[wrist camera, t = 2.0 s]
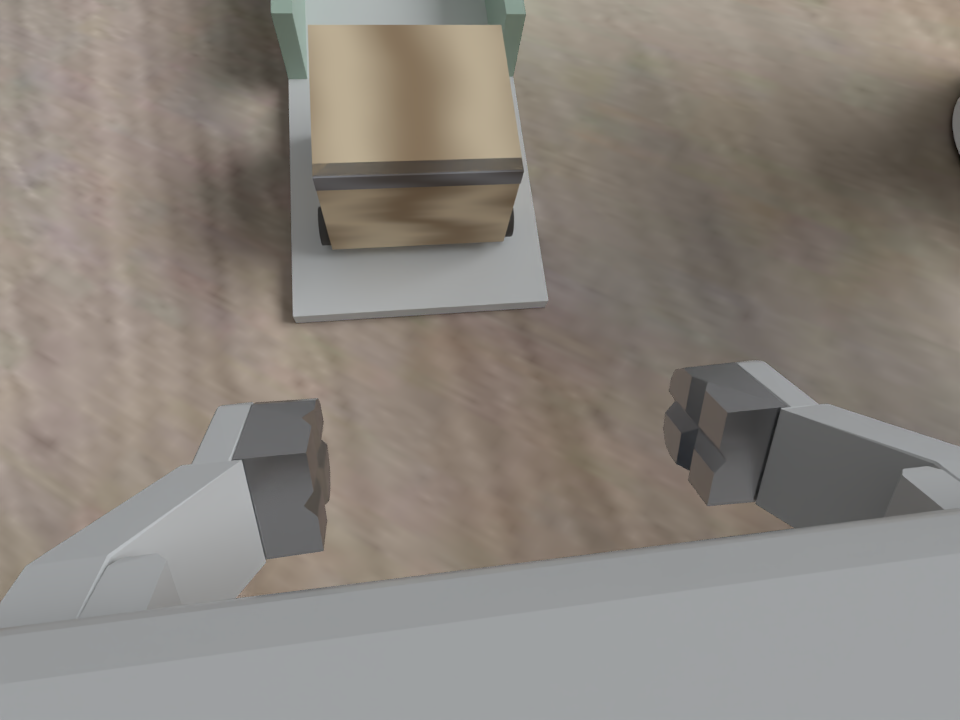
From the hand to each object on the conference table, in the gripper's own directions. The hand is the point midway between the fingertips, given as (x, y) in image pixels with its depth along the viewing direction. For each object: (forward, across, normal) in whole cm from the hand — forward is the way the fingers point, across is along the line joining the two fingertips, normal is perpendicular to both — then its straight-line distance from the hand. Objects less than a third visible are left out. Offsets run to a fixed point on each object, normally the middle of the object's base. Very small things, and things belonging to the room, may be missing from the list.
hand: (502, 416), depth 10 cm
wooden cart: (+30, 0, -2) cm, 30 cm away
